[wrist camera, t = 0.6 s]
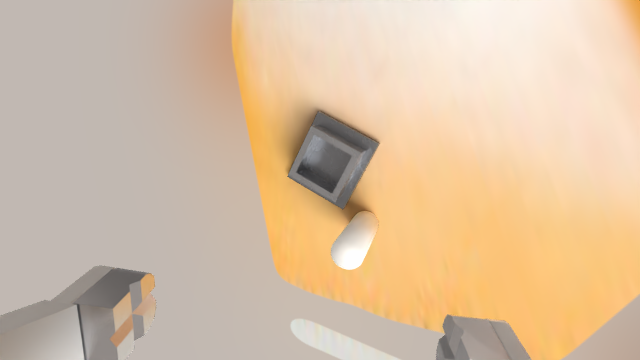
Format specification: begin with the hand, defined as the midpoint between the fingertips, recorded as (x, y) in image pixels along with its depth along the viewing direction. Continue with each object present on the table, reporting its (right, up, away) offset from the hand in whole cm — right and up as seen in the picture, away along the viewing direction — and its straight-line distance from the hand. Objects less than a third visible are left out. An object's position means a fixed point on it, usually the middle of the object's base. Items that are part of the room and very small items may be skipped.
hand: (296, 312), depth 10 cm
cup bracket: (+2, +6, +37) cm, 38 cm away
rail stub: (+7, -2, +38) cm, 38 cm away
